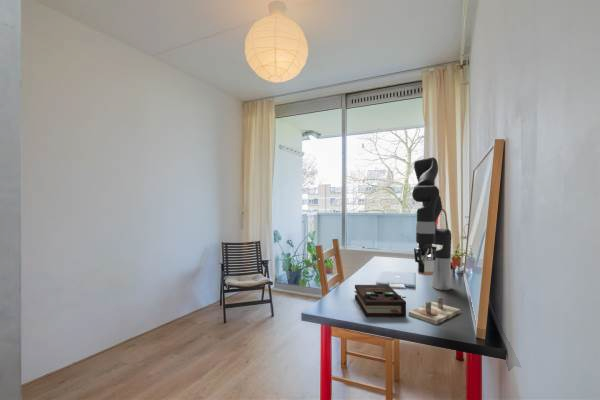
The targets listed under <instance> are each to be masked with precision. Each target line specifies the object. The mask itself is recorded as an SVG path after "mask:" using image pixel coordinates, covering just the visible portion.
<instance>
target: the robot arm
mask: <svg viewBox="0 0 600 400" xmlns="http://www.w3.org/2000/svg"><path fill="white" fill-rule="evenodd" d="M413 168H414V172H415V175H416V176H415V177H416V179H417V183H416V184H415V186H414V187H413V189H412V199H413V200H414V201H416V202H418V203H422V207H419V208H417V210H416V225H415V227H416V228H415V232H416V233H415V243H417V244H418V246H417V248H414V249H413V254H414V261H415V263H417V264H418V263H419V272H420V273H424V262H425V259H431V260H433V275H431V276H432V278H431V279H432V283H431V284H432V288H434V289H436V290H441V291H450V290H451V289H452V288H451V287H452V282H451V281H452V276H451V275H452V273H451V272H452V271H451V260H452V259H451V253H452V232H451V230H450V229H448V228H437V226H436V223H437V220H438V217H440V215H441V213H442V210H443V203H442V199H441V195H440V189H439V187H437V186H436V185H435V181H436V178H437V175H438V173H439V163H438V160H437V158H435V157H431V156H430V157H426V158H421V159H416V160H415V161H414V163H413ZM433 245H436V246H433ZM437 245H439V246H442V248H440V249H437Z"/></svg>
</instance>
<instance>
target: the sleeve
mask: <svg viewBox="0 0 600 400" xmlns="http://www.w3.org/2000/svg"><path fill="white" fill-rule="evenodd" d="M417 273H418V275H421V276H432V275H433V260H431V259H425V262H424V273H420V272H419V263H418V262H417Z"/></svg>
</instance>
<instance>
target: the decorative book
mask: <svg viewBox="0 0 600 400" xmlns="http://www.w3.org/2000/svg"><path fill="white" fill-rule="evenodd" d="M354 289H355V290H354V293H355V294H354V299H355V300H356V302H357V304H358V305H359V307H360V309H361V311H362V313H363V314H364V316H365V318H407V301H406V300H405V299H407V297H406V296H402V295H400V294H398V292H396V291H395V290H394V289H393V288H391V287H390V286H389V284H354Z"/></svg>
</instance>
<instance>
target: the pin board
mask: <svg viewBox="0 0 600 400" xmlns="http://www.w3.org/2000/svg"><path fill="white" fill-rule="evenodd" d="M456 314H457V315H458V314H461V309H460V308H457V307H453V306H449V305H446V304H444V297H442V296H438V297H437V302H434V301H425V304H424V305H422V306H419V307H417V308H415V309H412V310H409V311H408V316H411V317H412V318H417V319H418V320H419V319H420V320H422V321H424V322H427V323H431V324H434V325H439V324H441V323H444V320H445V321H446V319H447V320H448V319H451V318H452V316H453V317H455V316H456ZM454 315H455V316H454Z"/></svg>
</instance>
